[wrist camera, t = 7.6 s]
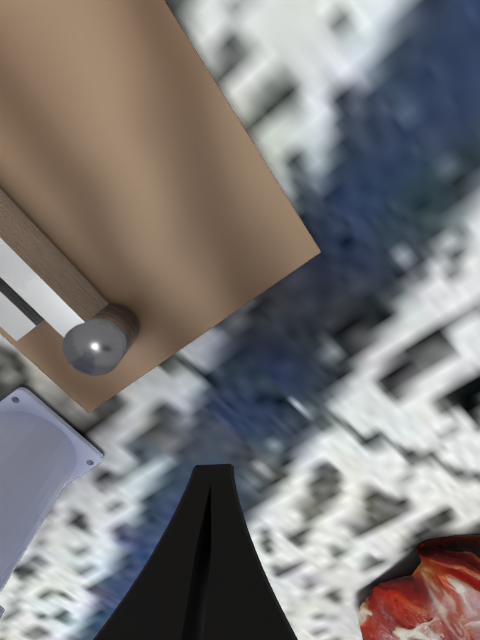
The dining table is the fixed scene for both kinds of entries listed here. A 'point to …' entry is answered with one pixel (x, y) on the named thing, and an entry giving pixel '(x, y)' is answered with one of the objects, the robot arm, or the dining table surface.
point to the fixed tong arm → (17, 313)
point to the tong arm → (63, 295)
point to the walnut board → (135, 178)
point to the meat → (429, 596)
